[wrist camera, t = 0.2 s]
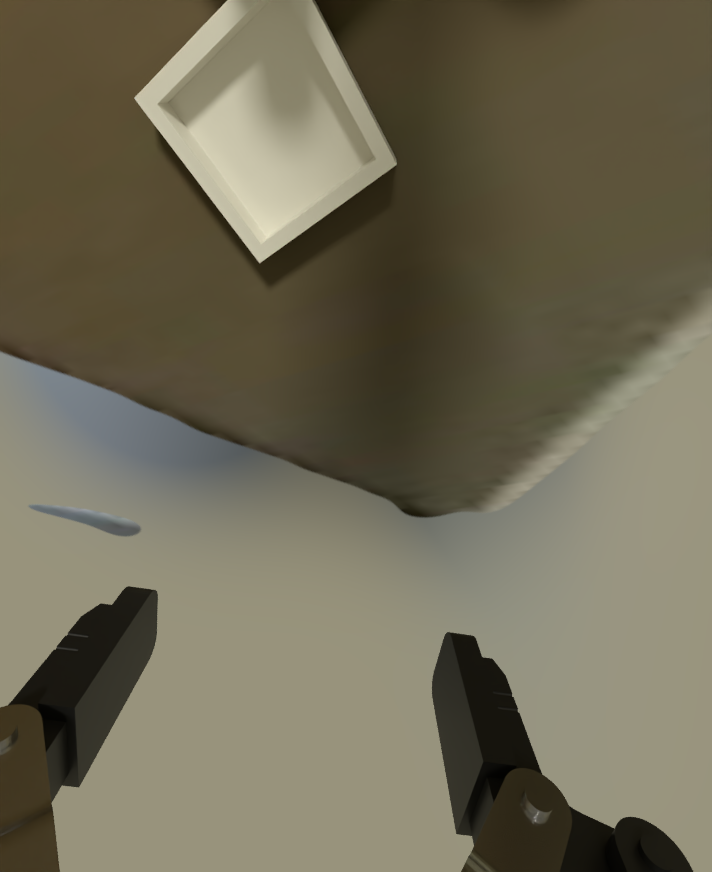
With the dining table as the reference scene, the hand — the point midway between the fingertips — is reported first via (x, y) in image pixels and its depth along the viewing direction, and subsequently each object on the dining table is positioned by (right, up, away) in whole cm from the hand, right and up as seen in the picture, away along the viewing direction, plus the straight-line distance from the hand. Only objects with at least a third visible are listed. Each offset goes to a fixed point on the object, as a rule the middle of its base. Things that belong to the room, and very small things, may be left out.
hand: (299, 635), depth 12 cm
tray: (-4, +27, +19) cm, 33 cm away
